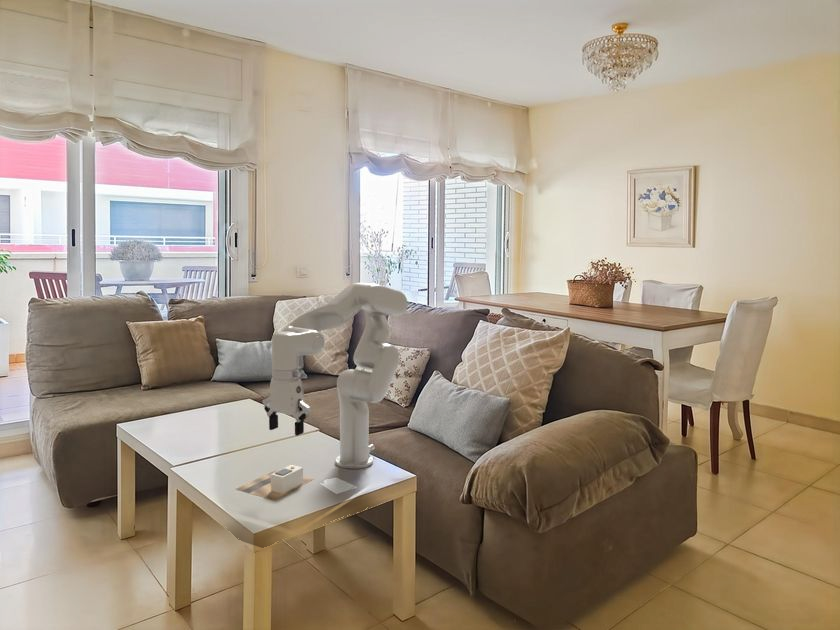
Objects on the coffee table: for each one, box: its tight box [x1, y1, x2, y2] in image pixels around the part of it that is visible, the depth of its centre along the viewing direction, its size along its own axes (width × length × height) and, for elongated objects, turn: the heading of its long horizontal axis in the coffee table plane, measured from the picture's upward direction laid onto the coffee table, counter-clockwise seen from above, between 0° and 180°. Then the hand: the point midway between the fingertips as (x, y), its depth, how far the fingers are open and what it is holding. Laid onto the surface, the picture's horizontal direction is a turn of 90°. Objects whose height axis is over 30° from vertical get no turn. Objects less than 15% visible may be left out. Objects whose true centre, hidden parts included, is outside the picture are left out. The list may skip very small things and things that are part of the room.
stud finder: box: [271, 464, 304, 494], centre depth 183 cm, size 9×4×5 cm, turn 151°
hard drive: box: [319, 477, 358, 495], centre depth 186 cm, size 2×8×12 cm
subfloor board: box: [235, 469, 315, 501], centre depth 185 cm, size 18×15×1 cm
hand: (286, 431), depth 181 cm, fingers open, 9 cm apart
